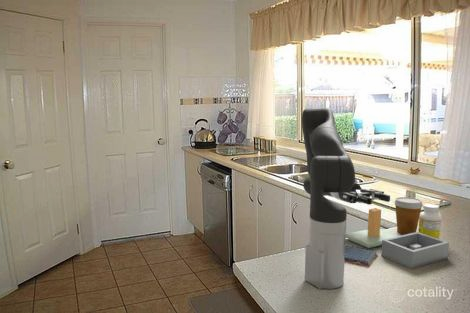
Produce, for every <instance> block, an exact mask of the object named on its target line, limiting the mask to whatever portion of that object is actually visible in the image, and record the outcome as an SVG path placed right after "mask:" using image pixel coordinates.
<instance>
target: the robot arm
mask: <svg viewBox="0 0 470 313" xmlns="http://www.w3.org/2000/svg"><path fill="white" fill-rule="evenodd" d="M336 125H337V124H336V120H335V116H334V113H333V110H332V109H331V108H329V107H311V108H305V109H303V111H302V113H301V128H302V130H301V131H302V136H303V142H304V148H305V154H306V170H307V173H308V175H309V177H308V178H306V179H305V180H304V182H303V183H302V184H303V186H302V187H303V189H304V191H305V192H306V193H307V194H308V195H310V202H309V227H308V244H307V245H306V246H305V252H304V253H305V256H304V257H305V258H304V259H305V260H304V280H305V281H306V282H307V283H309V284H311V285H312V286H314V287H315V288H317V289H319V290H321V289H329V290H330V289H331V290H333V289H338V288H340V287H342V286H343V285H344V283H345V281H344V280H345V246H346V239H347V238H346V234H347V232H346V231H347V214H348V213H347V209H346V208H345V206H343V205H341V204H340V203H336V202H334V201H331V200H329V199H328V198H326V197H327V196H328V197H331V198H334V199H337V200H339V201H341V202H346V203H348V204H357V203H359V204H365V205H368V206H370V205H372V203H373V202H374V201H375V200H378V201H383V202H385V203H386V202H387V203H389V202H391V195H390V194H386V193H385V191H382V190H378V189H372V188H370V189H367V188H362V187H361V185H360V184H359V183H358V182H357V183H356V171H355V166H354V163H353V161H352V159H351V158H350V156H349V154H348V153H347V151H346V150H345V148H344V144H343V141H342V138H341V136H340V133H339V131H338V129H337V126H336Z"/></svg>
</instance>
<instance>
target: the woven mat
mask: <svg viewBox="0 0 470 313" xmlns="http://www.w3.org/2000/svg"><path fill="white" fill-rule="evenodd" d="M377 257H378V254H377V251H375V250H369V248H367V249H364V247H361V248H359V247H358V246H357V247H354V246H353V245H352V246H349V245H348V244H347V245H345V261H344V263H345V262H346V263H351V264H355V265H359V266H364V267H367V266H368V268H369V267H370V266H371V265H372V264H373V261H374V260H375V259H377Z"/></svg>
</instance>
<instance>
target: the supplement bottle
mask: <svg viewBox="0 0 470 313" xmlns="http://www.w3.org/2000/svg"><path fill="white" fill-rule="evenodd" d="M422 210H423V211H421V212H420V216H419V221H418V229H417V230H418V231H417V232H419V233H422V234H425V235H428V236H431V237H434V238H437V239H440V240H441V234H442V233H441V232H442V231H441V229H442V220H443V216H442V214H440V213H439V210H440V206H439V205H437V204H433V203H426V204H424V203H423V206H422Z"/></svg>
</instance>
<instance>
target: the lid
mask: <svg viewBox="0 0 470 313" xmlns="http://www.w3.org/2000/svg"><path fill="white" fill-rule="evenodd" d="M381 219H382V209H379V208H371V209H370V208H369V209H368V220H367V221H368V222H367V229H363V230H358V231H352V232H348V233H347V232H346V238H345V239H349V241H350V242H353V243H354V244H355V243H356V244H357V245H360V246H363V248H364V247H365V248H367V249H372V248H376V247H379V246H382V240H384V239H389V238H393V237H397V236H401V235H400V234H399V233H398V234H397V233H394V232H392V231H389V230H387V229H384V228H381V222H382V221H381Z"/></svg>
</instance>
